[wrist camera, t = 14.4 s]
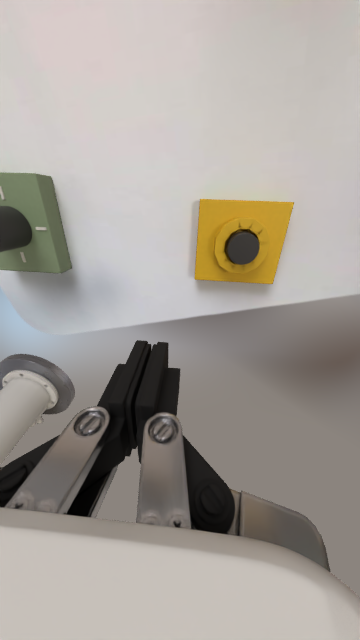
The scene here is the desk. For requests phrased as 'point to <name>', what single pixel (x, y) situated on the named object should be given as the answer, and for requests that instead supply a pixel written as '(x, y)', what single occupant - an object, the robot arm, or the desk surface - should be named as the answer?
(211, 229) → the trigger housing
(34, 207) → the dial panel
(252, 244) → the cylinder
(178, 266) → the desk surface
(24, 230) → the knob
